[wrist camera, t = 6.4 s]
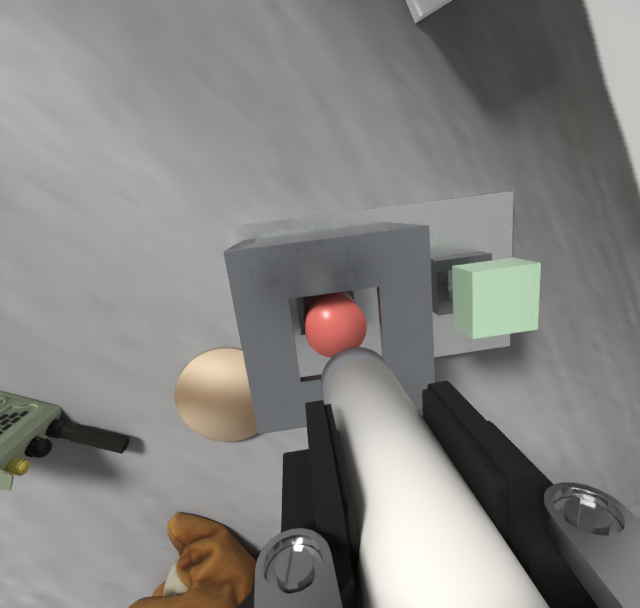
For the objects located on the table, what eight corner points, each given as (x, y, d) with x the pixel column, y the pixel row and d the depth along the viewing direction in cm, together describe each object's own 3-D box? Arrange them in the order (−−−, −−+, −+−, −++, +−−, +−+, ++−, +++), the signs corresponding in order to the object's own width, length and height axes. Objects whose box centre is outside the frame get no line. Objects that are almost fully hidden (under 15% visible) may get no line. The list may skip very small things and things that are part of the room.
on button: (442, 262, 23) (472, 272, 20) (499, 254, 24) (540, 262, 20) (443, 319, 24) (472, 339, 21) (498, 311, 25) (537, 329, 21)
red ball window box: (236, 225, 25) (208, 231, 16) (505, 191, 26) (614, 180, 17) (263, 377, 28) (252, 451, 19) (502, 341, 29) (594, 396, 20)
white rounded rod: (317, 352, 14) (474, 1123, 2) (387, 342, 14) (903, 1002, 2) (325, 415, 14) (477, 1257, 3) (392, 405, 14) (806, 1161, 3)
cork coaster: (166, 355, 27) (164, 358, 26) (270, 340, 27) (269, 343, 27) (189, 444, 29) (187, 449, 28) (284, 429, 29) (284, 433, 29)
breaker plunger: (298, 286, 23) (301, 303, 19) (349, 279, 23) (364, 294, 19) (305, 334, 24) (309, 362, 19) (354, 328, 24) (369, 353, 20)
